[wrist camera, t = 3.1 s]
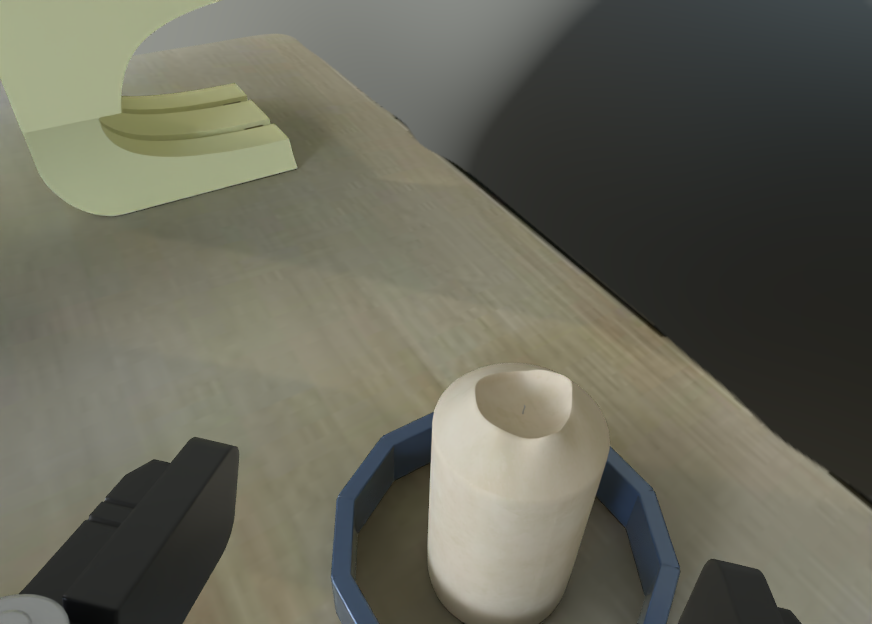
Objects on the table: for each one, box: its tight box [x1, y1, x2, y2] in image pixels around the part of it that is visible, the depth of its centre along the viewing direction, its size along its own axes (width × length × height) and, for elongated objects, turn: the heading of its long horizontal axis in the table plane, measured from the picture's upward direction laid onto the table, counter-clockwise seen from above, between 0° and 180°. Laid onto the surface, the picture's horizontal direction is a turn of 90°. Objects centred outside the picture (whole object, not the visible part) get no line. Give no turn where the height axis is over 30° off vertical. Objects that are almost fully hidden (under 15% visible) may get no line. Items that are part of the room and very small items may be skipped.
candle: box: [428, 363, 610, 624], centre depth 24 cm, size 6×6×10 cm
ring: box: [331, 412, 680, 624], centre depth 26 cm, size 12×12×2 cm
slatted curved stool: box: [0, 0, 297, 216], centre depth 45 cm, size 30×16×18 cm, turn 32°
